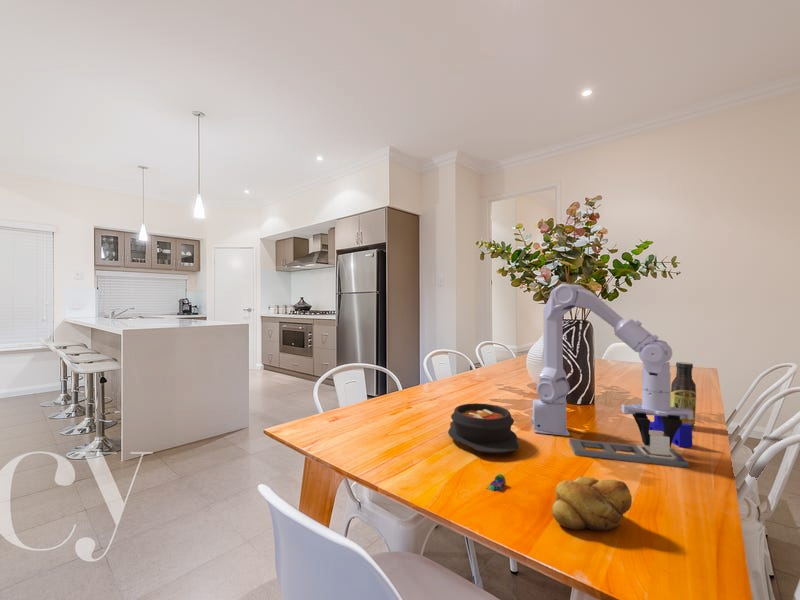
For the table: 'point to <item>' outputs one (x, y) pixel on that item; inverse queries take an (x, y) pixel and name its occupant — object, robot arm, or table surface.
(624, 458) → the grey slotted tray
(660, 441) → the pale grey upright block
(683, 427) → the cable clip
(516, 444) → the casserole
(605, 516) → the bread roll
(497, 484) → the green purple lumpy wedge
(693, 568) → the table surface
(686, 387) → the sauce bottle
